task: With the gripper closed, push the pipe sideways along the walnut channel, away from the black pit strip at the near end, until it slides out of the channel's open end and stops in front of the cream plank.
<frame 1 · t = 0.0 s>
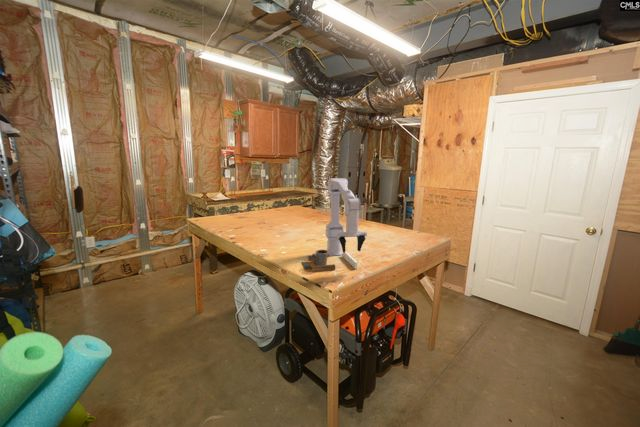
hand: (351, 251, 135), 10 cm above the workbench, tool pointing down, fingers open, 7 cm apart
cream plank: (341, 262, 149), on the workbench
channel: (321, 264, 146), on the workbench
pipe: (319, 265, 146), on the workbench
pit strip: (306, 265, 144), on the workbench
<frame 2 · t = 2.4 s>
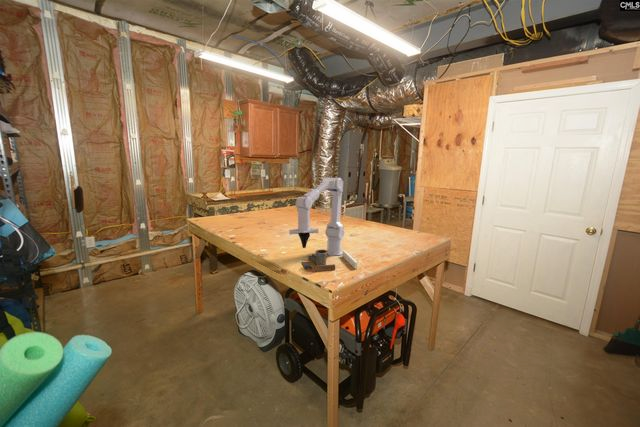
hand: (303, 247, 142), 10 cm above the workbench, tool pointing down, fingers closed
nothing on the workbench moved.
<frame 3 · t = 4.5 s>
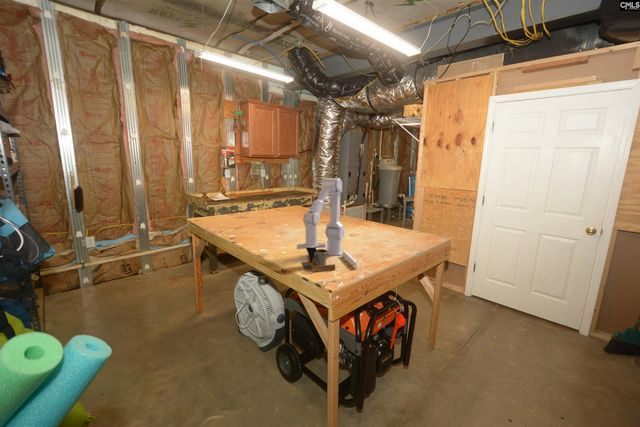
hand: (311, 261, 144), 2 cm above the workbench, tool pointing down, fingers closed
pipe: (318, 264, 146), on the workbench, touching gripper
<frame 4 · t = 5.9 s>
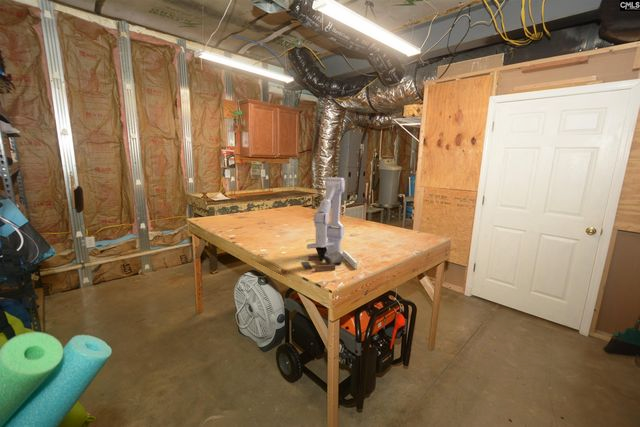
hand: (321, 261, 146), 2 cm above the workbench, tool pointing down, fingers closed
pipe: (324, 258, 146), point 3 cm above the workbench, touching gripper
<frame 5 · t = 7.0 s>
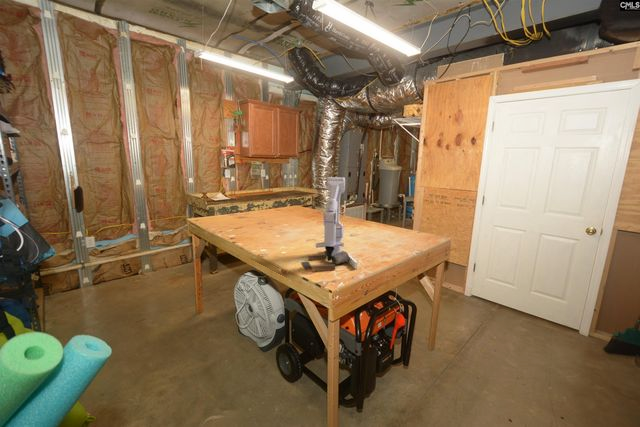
hand: (329, 260, 147), 2 cm above the workbench, tool pointing down, fingers closed, pressing on pipe
pipe: (330, 258, 147), point 3 cm above the workbench, touching cream plank, gripper
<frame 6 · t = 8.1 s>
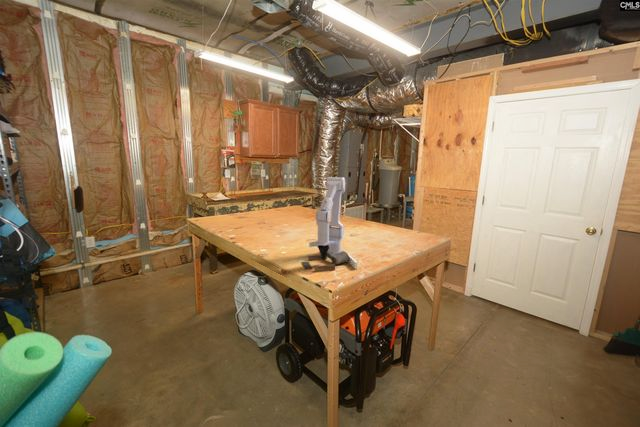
hand: (323, 259, 146), 3 cm above the workbench, tool pointing down, fingers closed
pipe: (330, 258, 147), point 3 cm above the workbench, touching channel
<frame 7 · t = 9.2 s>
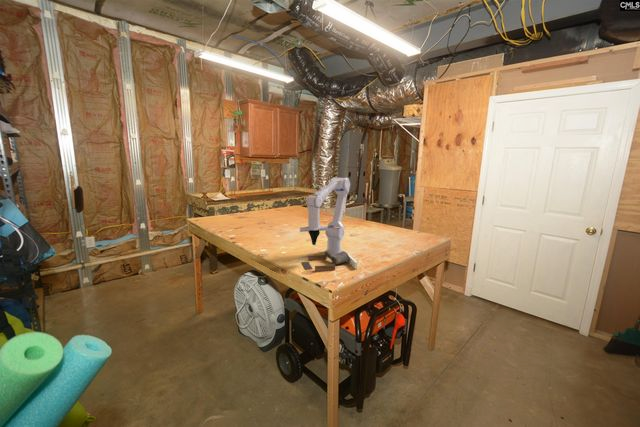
hand: (313, 244, 147), 10 cm above the workbench, tool pointing down, fingers closed
nothing on the workbench moved.
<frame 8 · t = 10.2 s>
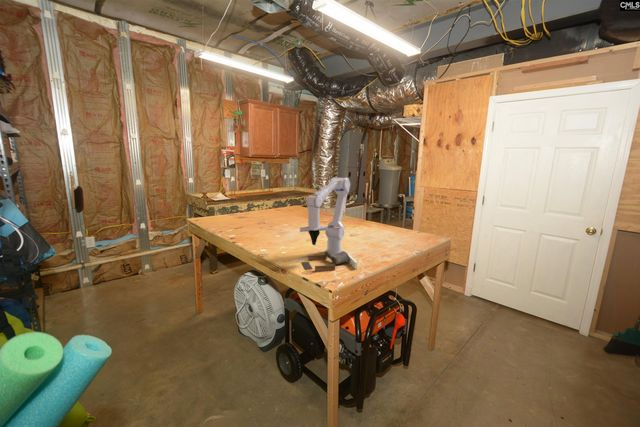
hand: (313, 244, 147), 10 cm above the workbench, tool pointing down, fingers closed
nothing on the workbench moved.
at the end: pipe inside the target area (5.3 cm from its centre), point 2.8 cm above the workbench; pipe moved 6.7 cm from its start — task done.
